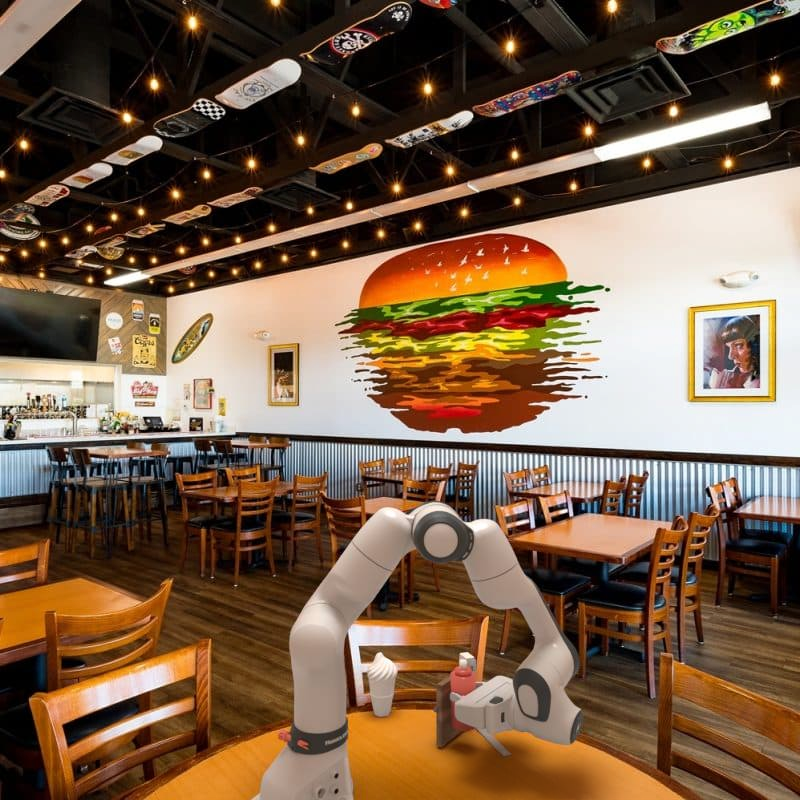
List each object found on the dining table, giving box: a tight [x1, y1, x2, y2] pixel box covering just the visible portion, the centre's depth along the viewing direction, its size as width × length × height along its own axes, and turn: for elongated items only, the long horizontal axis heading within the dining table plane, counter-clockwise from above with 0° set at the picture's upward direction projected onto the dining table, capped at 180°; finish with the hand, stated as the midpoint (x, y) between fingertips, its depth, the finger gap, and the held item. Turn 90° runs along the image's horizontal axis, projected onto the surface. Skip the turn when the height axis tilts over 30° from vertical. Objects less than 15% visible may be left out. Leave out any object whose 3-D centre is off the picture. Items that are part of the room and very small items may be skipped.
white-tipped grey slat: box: [459, 651, 512, 757], centre depth 153 cm, size 2×22×16 cm, turn 21°
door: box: [433, 665, 473, 748], centre depth 152 cm, size 3×15×14 cm, turn 143°
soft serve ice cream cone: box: [366, 652, 398, 718], centre depth 163 cm, size 8×8×16 cm
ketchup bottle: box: [450, 658, 477, 732], centre depth 146 cm, size 6×6×15 cm
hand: (460, 690), depth 146 cm, fingers closed on ketchup bottle, 6 cm apart
